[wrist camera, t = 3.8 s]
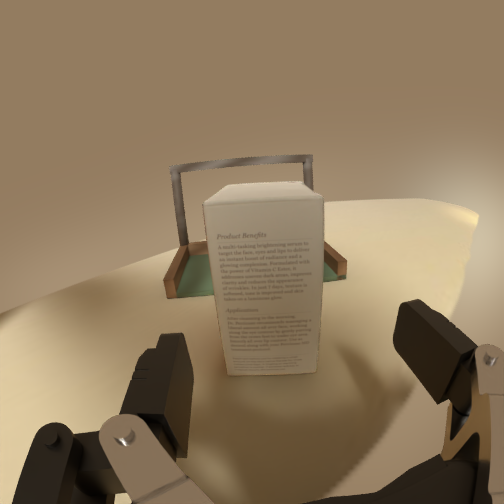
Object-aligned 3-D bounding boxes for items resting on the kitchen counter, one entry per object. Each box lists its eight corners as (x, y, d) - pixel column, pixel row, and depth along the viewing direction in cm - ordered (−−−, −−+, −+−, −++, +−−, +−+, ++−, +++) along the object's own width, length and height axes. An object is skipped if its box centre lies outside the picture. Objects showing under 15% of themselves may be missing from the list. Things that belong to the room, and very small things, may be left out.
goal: (166, 298, 26) (144, 168, 22) (183, 257, 37) (171, 166, 33) (346, 278, 27) (347, 152, 23) (313, 244, 39) (309, 154, 35)
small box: (238, 311, 23) (225, 184, 20) (305, 309, 23) (303, 179, 19) (225, 378, 15) (198, 200, 12) (318, 375, 15) (324, 192, 12)
